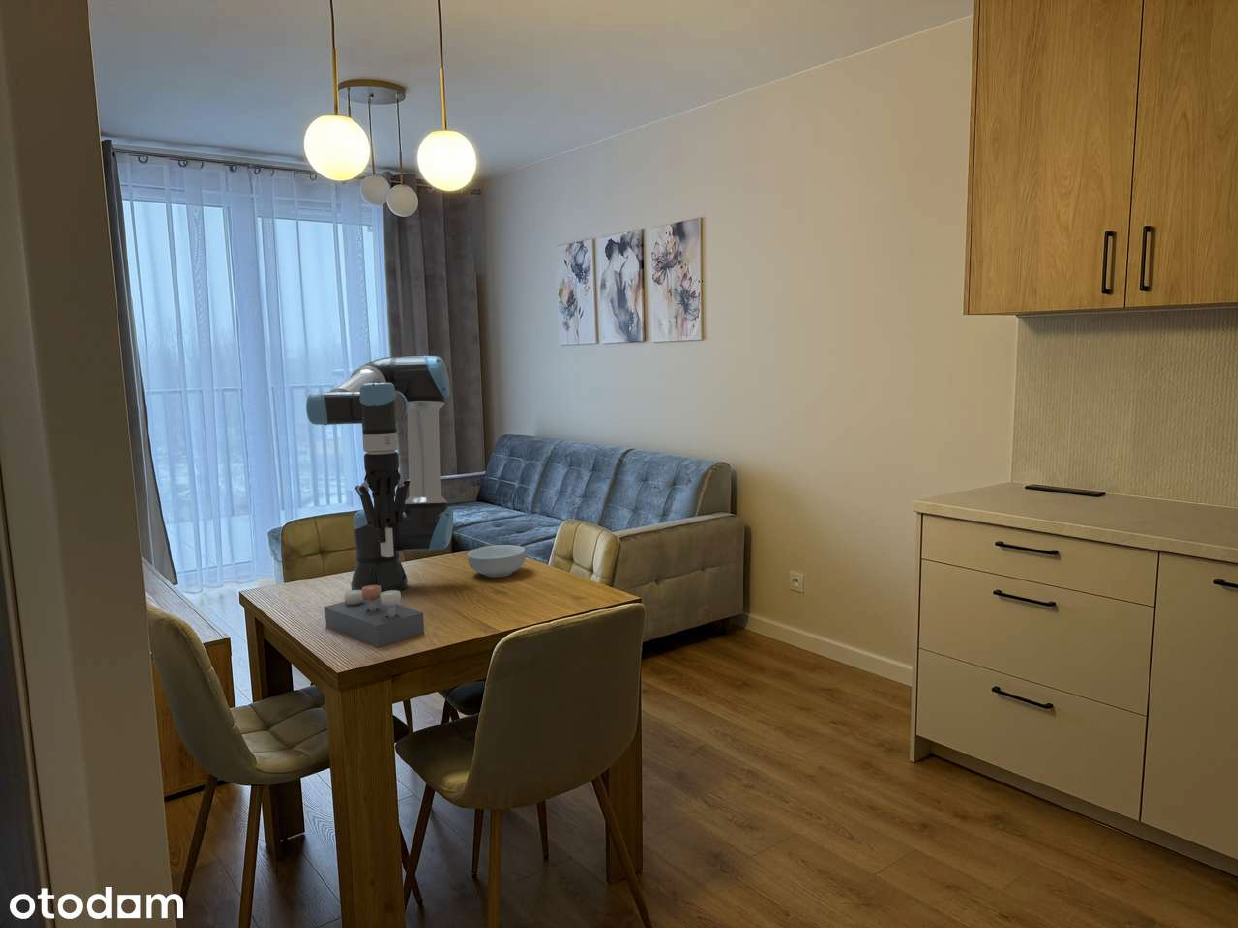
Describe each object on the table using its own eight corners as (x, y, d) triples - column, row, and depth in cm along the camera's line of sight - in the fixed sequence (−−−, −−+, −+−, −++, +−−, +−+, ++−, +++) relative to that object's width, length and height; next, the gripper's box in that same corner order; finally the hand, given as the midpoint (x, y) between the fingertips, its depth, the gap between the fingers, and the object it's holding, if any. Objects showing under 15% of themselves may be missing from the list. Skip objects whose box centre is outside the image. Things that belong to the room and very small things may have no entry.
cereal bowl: (500, 564, 254) (499, 542, 253) (538, 572, 243) (537, 548, 242) (456, 576, 241) (455, 552, 240) (495, 585, 230) (494, 560, 229)
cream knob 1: (359, 618, 202) (357, 588, 201) (369, 621, 199) (367, 591, 198) (343, 622, 199) (340, 592, 198) (352, 626, 196) (350, 596, 195)
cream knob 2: (395, 620, 191) (393, 589, 190) (406, 623, 188) (404, 592, 187) (378, 624, 188) (376, 593, 187) (389, 628, 185) (387, 596, 184)
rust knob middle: (376, 613, 196) (374, 583, 195) (386, 617, 193) (384, 586, 192) (360, 618, 193) (357, 587, 192) (370, 621, 190) (368, 590, 189)
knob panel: (370, 614, 206) (369, 595, 205) (424, 633, 190) (422, 612, 190) (325, 627, 197) (324, 606, 196) (378, 647, 181) (377, 625, 181)
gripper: (363, 456, 176) (370, 563, 178) (415, 450, 185) (421, 552, 188) (345, 454, 181) (352, 559, 183) (396, 448, 190) (402, 548, 193)
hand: (387, 555), depth 186 cm, fingers closed
